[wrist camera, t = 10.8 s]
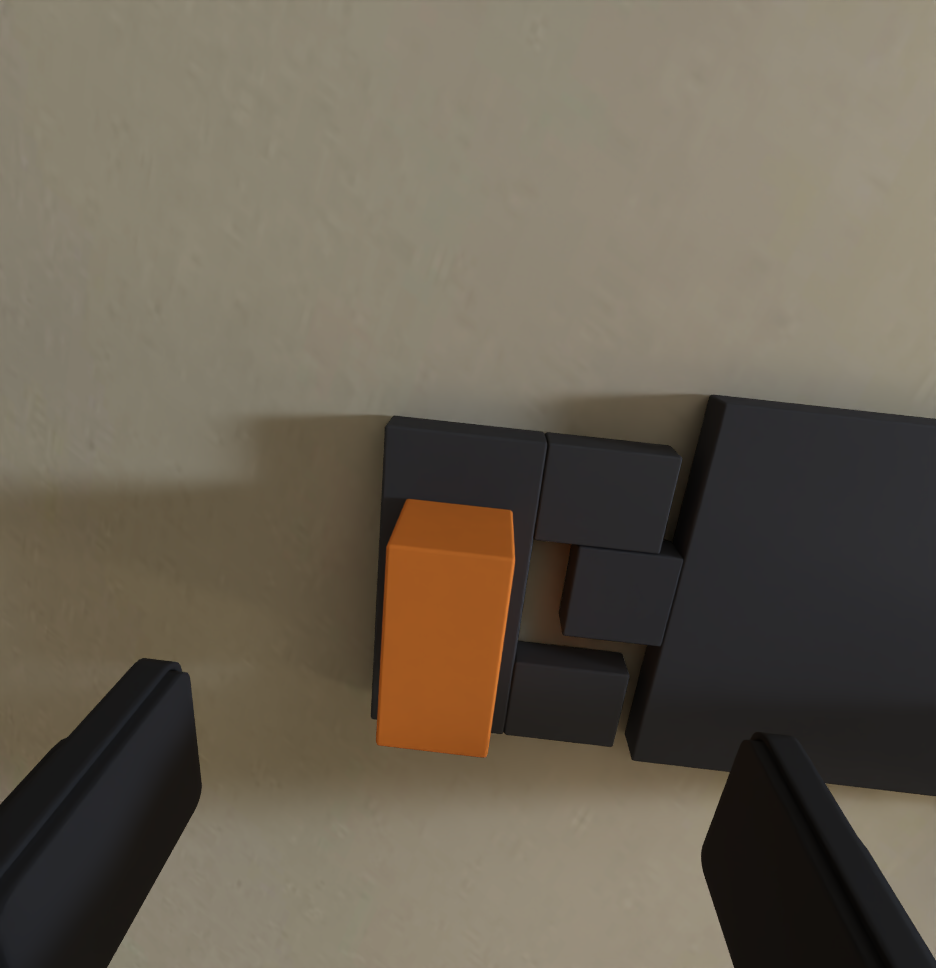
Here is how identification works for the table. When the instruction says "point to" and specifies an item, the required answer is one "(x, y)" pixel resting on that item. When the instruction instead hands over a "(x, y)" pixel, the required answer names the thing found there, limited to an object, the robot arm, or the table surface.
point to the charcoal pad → (784, 597)
